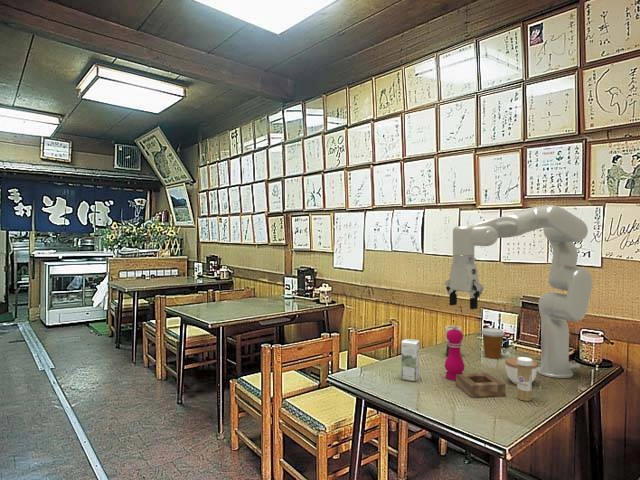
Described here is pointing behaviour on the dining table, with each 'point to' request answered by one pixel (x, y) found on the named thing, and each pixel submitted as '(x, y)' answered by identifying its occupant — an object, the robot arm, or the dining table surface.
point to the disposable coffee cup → (492, 342)
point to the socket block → (480, 385)
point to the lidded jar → (513, 369)
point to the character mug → (446, 337)
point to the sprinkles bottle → (524, 378)
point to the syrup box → (410, 360)
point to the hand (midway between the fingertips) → (463, 306)
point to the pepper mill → (454, 354)
